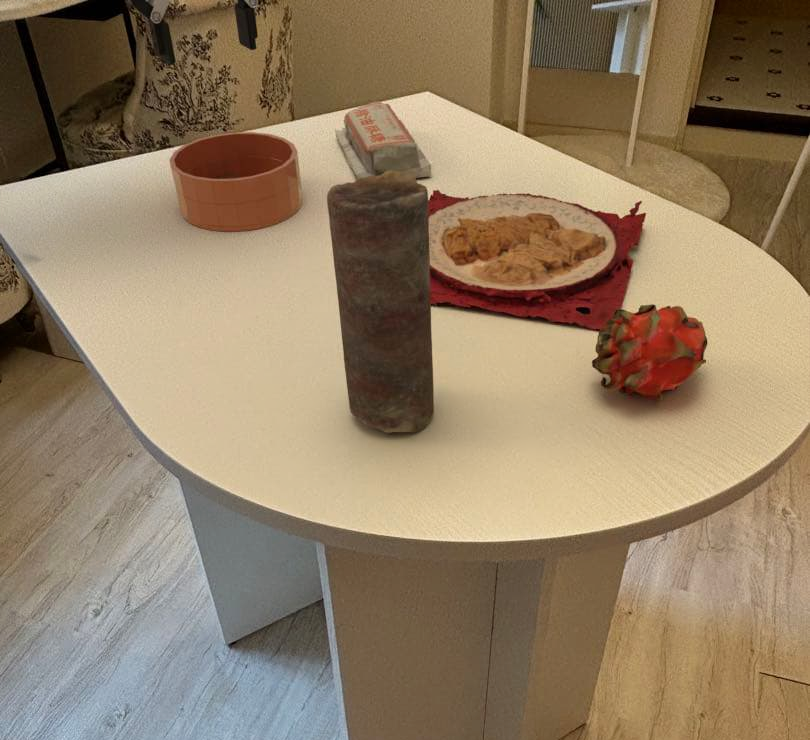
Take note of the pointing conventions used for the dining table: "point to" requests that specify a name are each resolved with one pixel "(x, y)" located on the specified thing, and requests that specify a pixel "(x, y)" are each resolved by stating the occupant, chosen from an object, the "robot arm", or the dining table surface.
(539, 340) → the dining table surface
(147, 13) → the robot arm
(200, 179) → the bowl
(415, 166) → the packaged product
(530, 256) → the plate with food
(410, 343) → the candle
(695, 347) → the dragon fruit
